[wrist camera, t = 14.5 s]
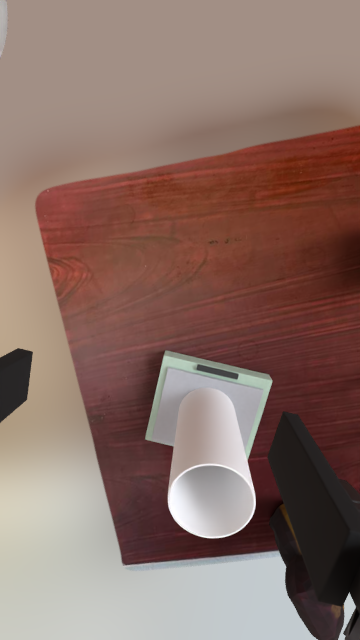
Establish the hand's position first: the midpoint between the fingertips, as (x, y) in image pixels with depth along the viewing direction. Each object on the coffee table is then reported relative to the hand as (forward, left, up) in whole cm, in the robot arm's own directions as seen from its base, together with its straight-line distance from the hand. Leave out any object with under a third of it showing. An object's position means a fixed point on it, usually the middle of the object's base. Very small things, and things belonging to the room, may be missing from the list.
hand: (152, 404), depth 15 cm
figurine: (+25, -30, -29) cm, 48 cm away
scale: (+7, -14, -29) cm, 33 cm away
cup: (+7, -14, -26) cm, 30 cm away
